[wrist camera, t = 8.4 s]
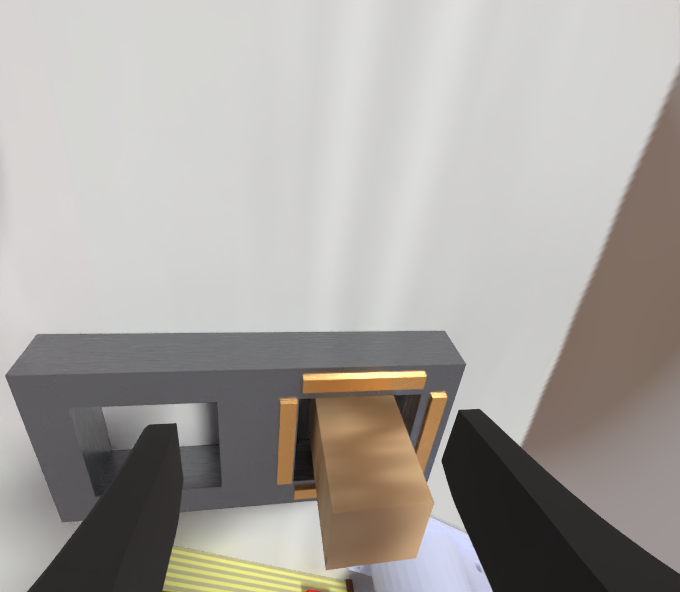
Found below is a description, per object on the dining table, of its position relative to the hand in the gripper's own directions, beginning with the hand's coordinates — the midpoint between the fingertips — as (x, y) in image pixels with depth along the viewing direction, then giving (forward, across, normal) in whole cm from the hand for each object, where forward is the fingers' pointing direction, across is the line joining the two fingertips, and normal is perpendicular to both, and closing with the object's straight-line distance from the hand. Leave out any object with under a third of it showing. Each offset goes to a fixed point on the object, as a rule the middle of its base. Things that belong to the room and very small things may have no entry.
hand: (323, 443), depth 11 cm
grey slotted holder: (+10, +2, +9) cm, 14 cm away
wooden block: (+10, -3, +9) cm, 14 cm away
